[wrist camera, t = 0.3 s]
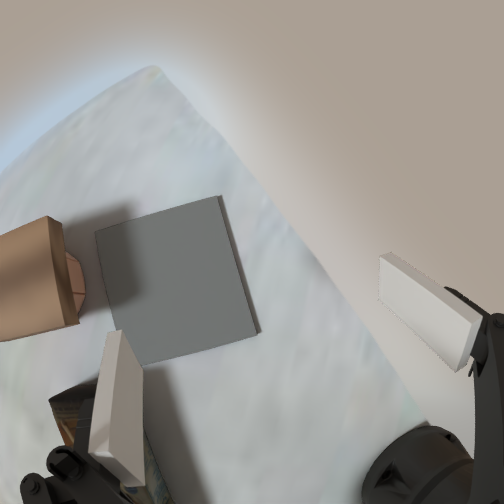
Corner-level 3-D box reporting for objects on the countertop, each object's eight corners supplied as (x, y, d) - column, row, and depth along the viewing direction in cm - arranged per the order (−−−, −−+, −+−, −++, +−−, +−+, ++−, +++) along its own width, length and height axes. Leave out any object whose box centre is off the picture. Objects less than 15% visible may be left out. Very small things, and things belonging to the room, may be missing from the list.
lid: (79, 323, 25) (65, 325, 22) (9, 341, 24) (-8, 342, 21) (61, 223, 26) (47, 215, 23) (-5, 250, 25) (-22, 245, 22)
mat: (256, 334, 31) (257, 335, 30) (129, 367, 29) (127, 368, 29) (216, 197, 33) (216, 195, 32) (96, 233, 31) (94, 231, 31)
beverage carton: (123, 513, 26) (110, 541, 19) (70, 383, 29) (41, 396, 22) (181, 512, 27) (174, 544, 20) (129, 377, 29) (108, 392, 23)
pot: (93, 317, 30) (73, 318, 25) (34, 332, 29) (11, 334, 24) (77, 240, 31) (57, 230, 26) (21, 260, 30) (-2, 254, 25)
